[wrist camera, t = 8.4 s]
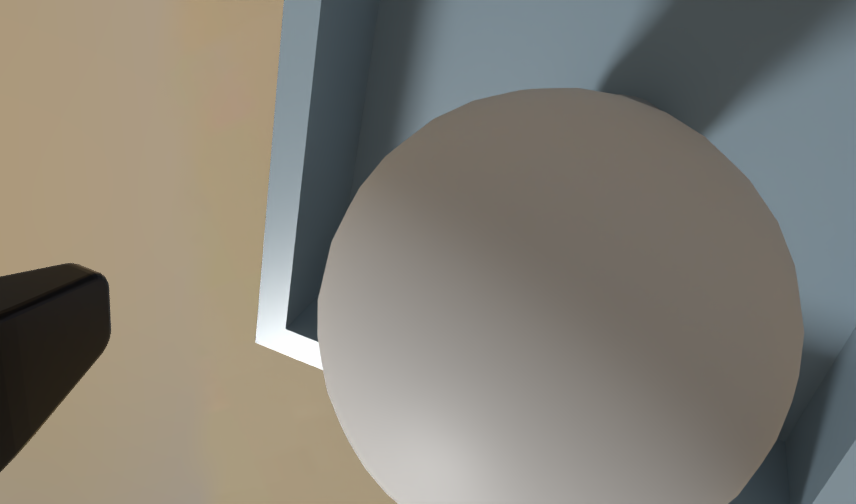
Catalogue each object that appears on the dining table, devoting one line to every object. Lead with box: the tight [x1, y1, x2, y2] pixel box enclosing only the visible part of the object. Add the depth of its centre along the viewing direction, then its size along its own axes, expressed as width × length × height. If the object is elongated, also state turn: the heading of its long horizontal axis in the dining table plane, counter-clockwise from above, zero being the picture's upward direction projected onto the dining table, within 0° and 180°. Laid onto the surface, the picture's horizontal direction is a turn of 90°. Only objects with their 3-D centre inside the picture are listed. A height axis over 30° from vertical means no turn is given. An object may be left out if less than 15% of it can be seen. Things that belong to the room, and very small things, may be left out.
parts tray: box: [256, 0, 856, 504], centre depth 16 cm, size 14×14×4 cm
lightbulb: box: [317, 88, 804, 504], centre depth 12 cm, size 6×6×11 cm
